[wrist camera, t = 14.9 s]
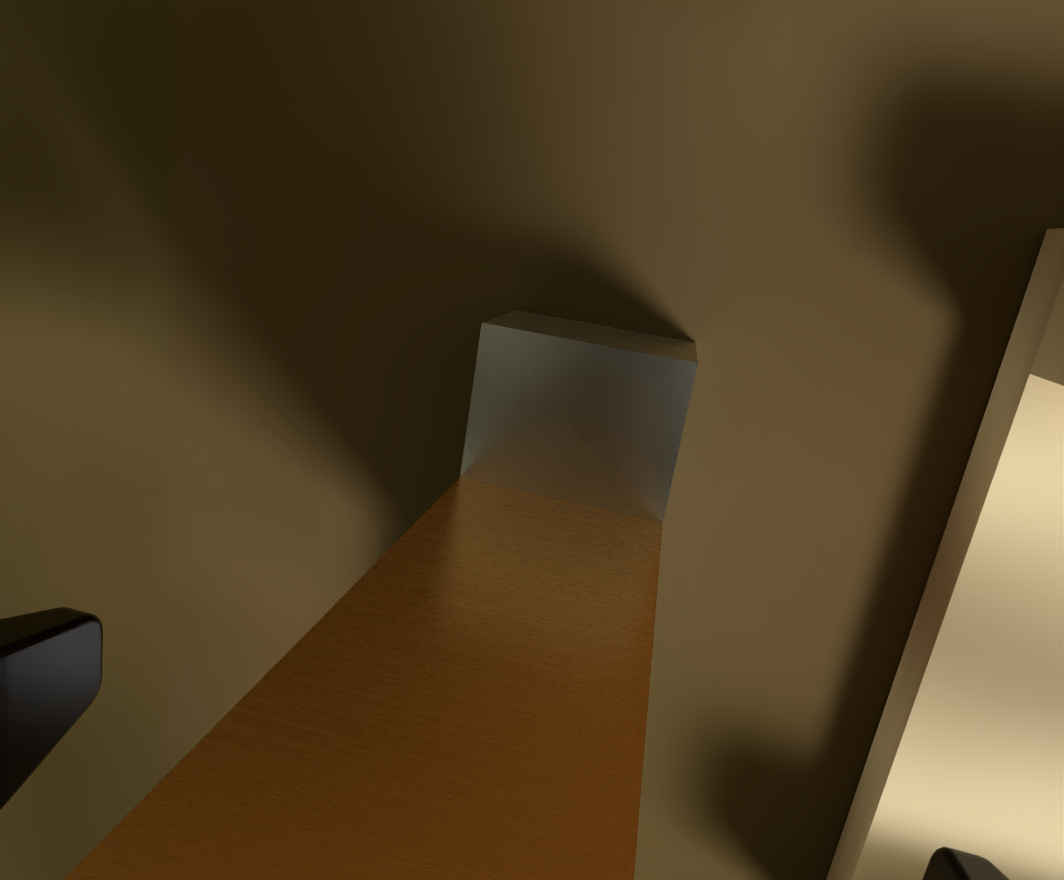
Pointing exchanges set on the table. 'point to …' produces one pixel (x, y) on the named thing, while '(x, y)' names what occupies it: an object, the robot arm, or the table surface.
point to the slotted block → (984, 643)
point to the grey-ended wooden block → (463, 655)
